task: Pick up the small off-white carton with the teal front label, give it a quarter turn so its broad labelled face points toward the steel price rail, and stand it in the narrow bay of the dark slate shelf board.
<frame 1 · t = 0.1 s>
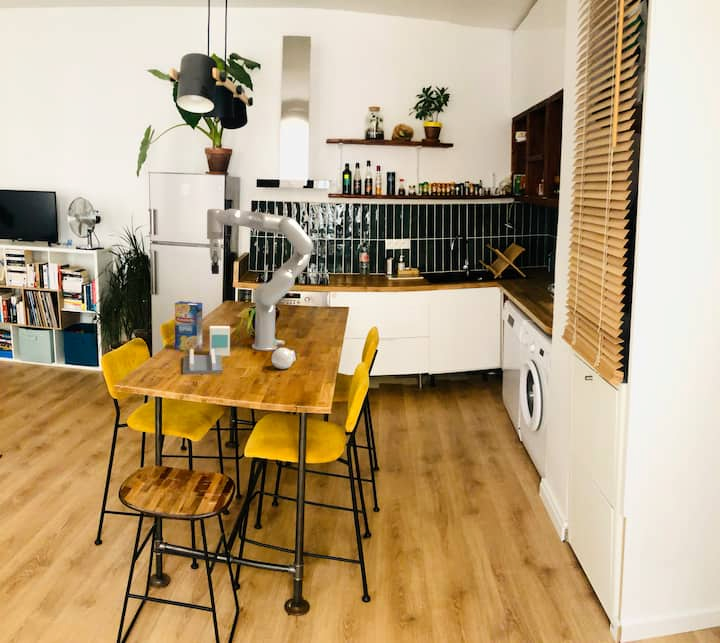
hand: (215, 272, 333), 37 cm above the table, tool pointing down, fingers open, 9 cm apart
blue food box: (188, 349, 338), on the table
carton: (219, 354, 329), on the table
white rounded lump: (284, 367, 313), on the table
shelf: (202, 365, 309), on the table
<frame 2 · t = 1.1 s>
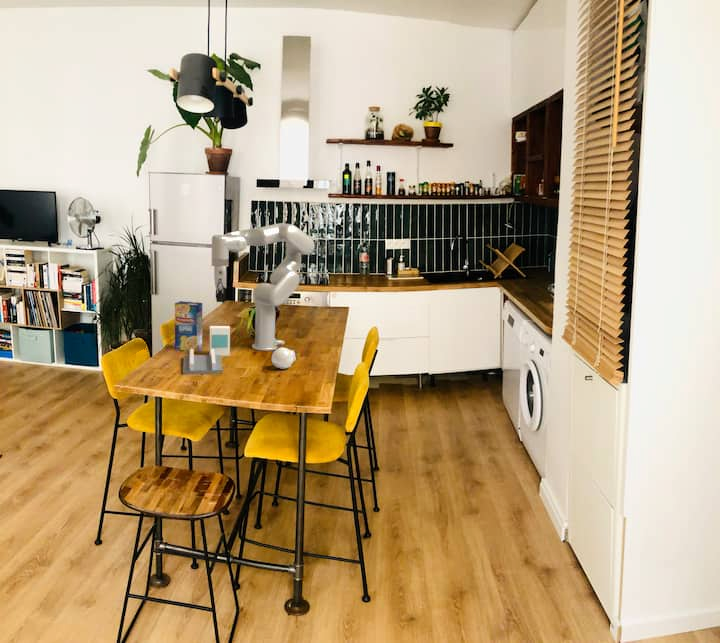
hand: (219, 300, 324), 26 cm above the table, tool pointing down, fingers open, 9 cm apart
nothing on the table moved.
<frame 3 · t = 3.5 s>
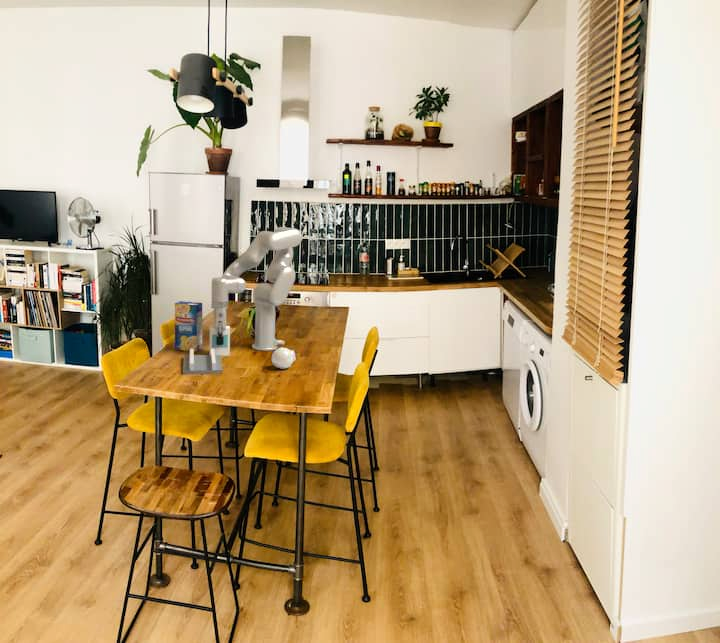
hand: (219, 342, 328), 5 cm above the table, tool pointing down, fingers closed on carton, 5 cm apart
carton: (219, 354, 330), on the table, touching gripper
everything else where it was.
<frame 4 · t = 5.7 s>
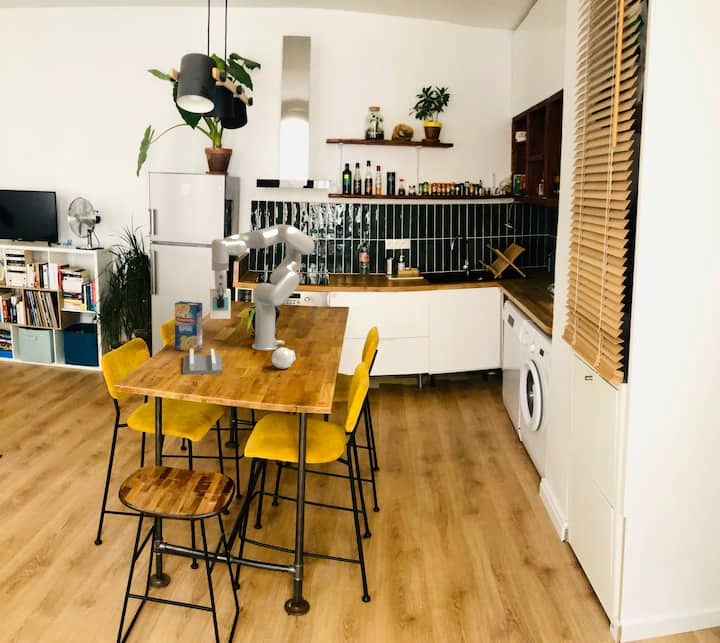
hand: (220, 306, 325), 23 cm above the table, tool pointing down, fingers closed on carton, 5 cm apart
carton: (220, 317, 326), point 17 cm above the table, touching gripper
everything else where it was.
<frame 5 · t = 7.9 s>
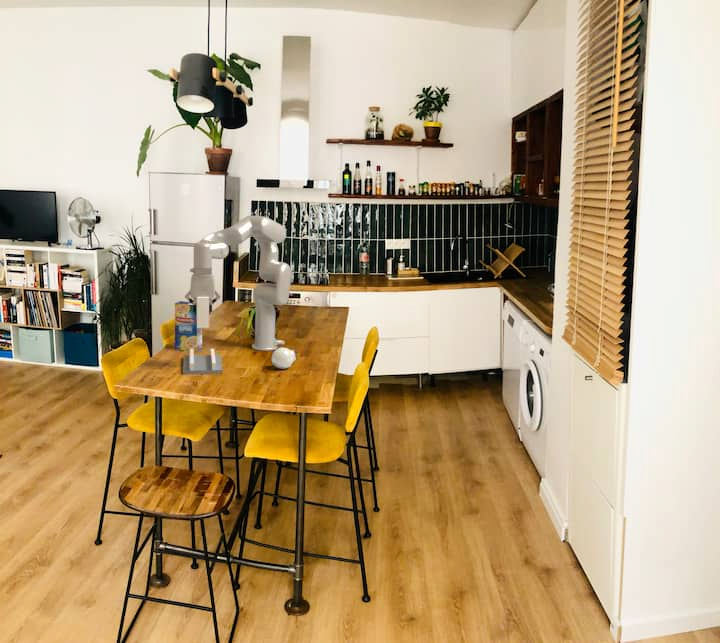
hand: (202, 313, 304), 23 cm above the table, tool pointing down, fingers closed on carton, 5 cm apart
carton: (202, 325, 305), point 18 cm above the table, touching gripper
everything else where it was.
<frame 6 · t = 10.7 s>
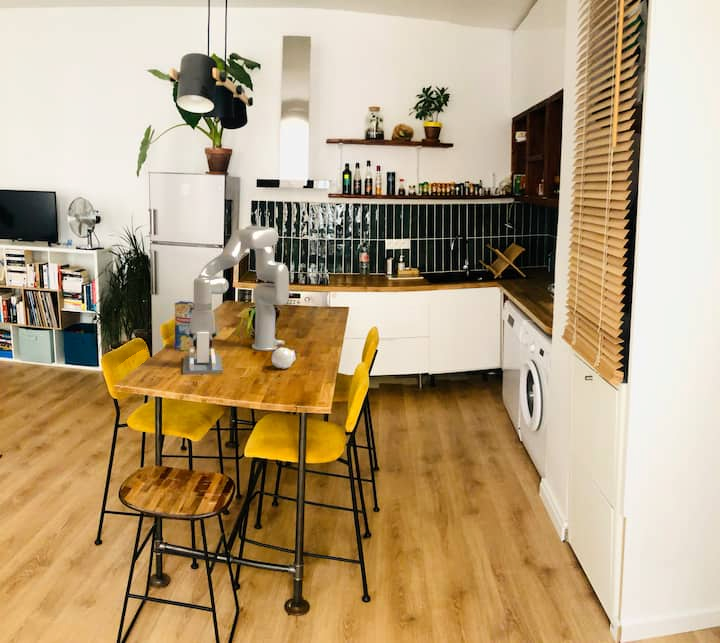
hand: (202, 348, 307), 8 cm above the table, tool pointing down, fingers closed on carton, 5 cm apart
carton: (202, 360, 308), point 2 cm above the table, touching gripper
everything else where it was.
when the fingers open (8 cm above the table, at t = 11.0 s): carton stays where it is, resting on shelf.
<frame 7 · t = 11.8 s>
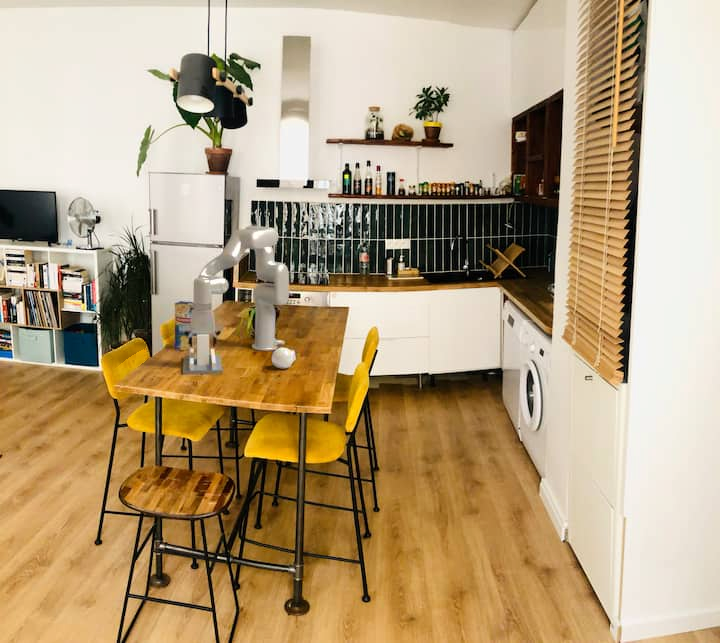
hand: (202, 346, 307), 9 cm above the table, tool pointing down, fingers open, 9 cm apart
carton: (202, 362, 308), point 1 cm above the table, touching shelf
everything else where it was.
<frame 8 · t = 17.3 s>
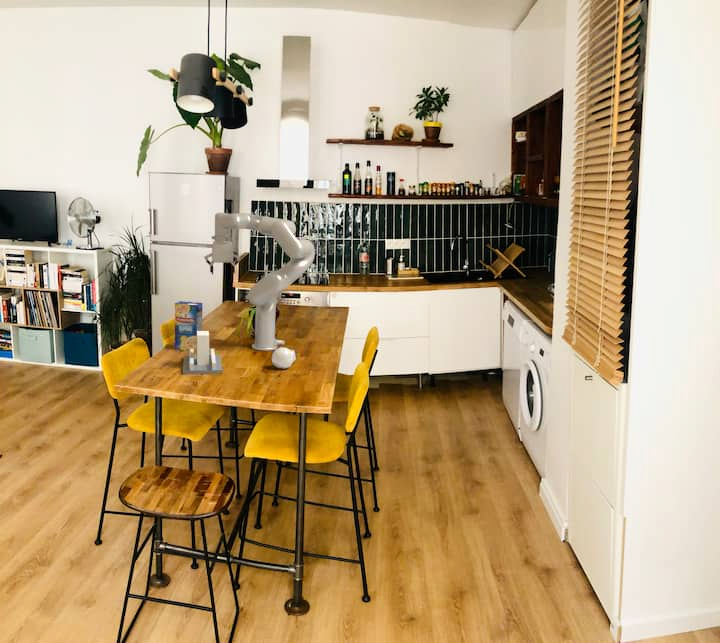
hand: (222, 274, 346), 34 cm above the table, tool pointing down, fingers open, 9 cm apart
nothing on the table moved.
at the end: carton inside the target area on the shelf (0.2 cm from its centre), point 1.5 cm above the shelf's base; carton tilted 0°; the gripper is holding nothing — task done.
